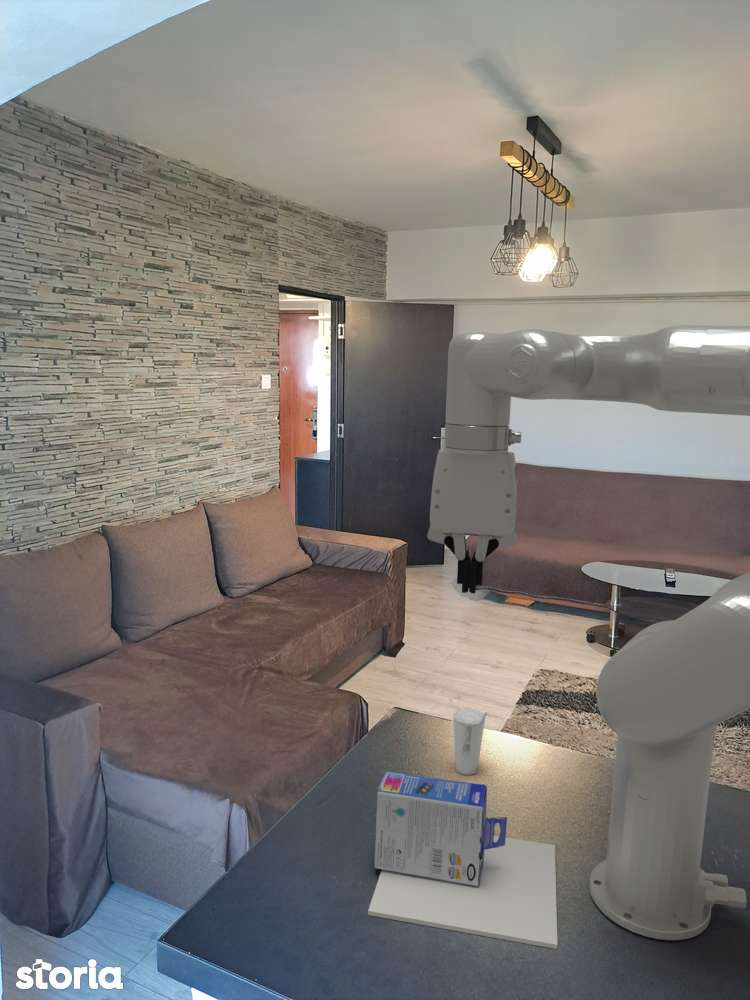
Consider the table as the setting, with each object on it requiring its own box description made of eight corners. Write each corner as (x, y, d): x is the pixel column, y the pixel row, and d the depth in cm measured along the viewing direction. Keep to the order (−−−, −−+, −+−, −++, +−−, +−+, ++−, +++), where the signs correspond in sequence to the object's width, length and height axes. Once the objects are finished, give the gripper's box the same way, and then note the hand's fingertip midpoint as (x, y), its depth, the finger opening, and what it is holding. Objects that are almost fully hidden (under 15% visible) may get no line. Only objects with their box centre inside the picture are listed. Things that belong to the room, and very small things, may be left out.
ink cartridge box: (383, 842, 92) (504, 864, 88) (372, 870, 87) (500, 895, 83) (386, 766, 90) (509, 786, 87) (375, 790, 85) (506, 813, 82)
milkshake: (472, 783, 107) (476, 716, 105) (444, 768, 111) (447, 703, 109) (492, 772, 110) (496, 708, 108) (464, 758, 114) (468, 695, 112)
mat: (554, 848, 92) (554, 845, 92) (557, 949, 76) (557, 944, 76) (397, 824, 96) (397, 820, 96) (368, 914, 80) (368, 910, 80)
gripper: (540, 440, 92) (531, 587, 95) (418, 435, 95) (412, 578, 97) (541, 445, 85) (531, 604, 87) (409, 439, 87) (404, 593, 90)
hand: (469, 589), depth 92 cm, fingers closed
